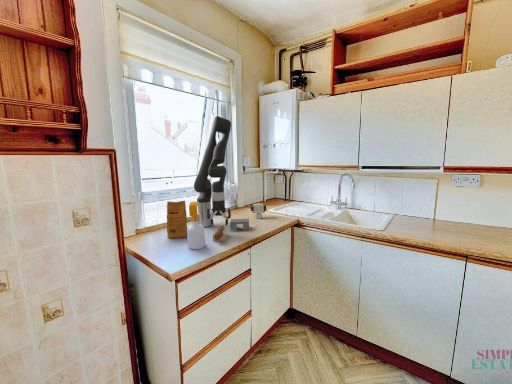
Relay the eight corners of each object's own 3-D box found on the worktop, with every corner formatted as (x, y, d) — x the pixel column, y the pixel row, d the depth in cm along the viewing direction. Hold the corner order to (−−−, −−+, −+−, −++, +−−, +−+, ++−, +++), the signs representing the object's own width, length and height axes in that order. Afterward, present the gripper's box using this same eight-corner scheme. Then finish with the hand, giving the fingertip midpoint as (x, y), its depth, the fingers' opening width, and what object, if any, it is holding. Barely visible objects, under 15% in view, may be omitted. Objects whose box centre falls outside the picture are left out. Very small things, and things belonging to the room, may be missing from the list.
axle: (220, 239, 129) (220, 233, 128) (214, 240, 129) (214, 234, 128) (224, 230, 145) (223, 224, 144) (218, 230, 145) (218, 225, 144)
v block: (225, 240, 134) (224, 233, 133) (212, 240, 134) (212, 234, 133) (226, 236, 141) (226, 230, 140) (214, 236, 141) (214, 230, 140)
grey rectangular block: (249, 230, 151) (248, 221, 150) (230, 230, 151) (230, 222, 150) (249, 227, 158) (248, 218, 157) (231, 227, 158) (231, 219, 157)
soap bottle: (206, 242, 131) (204, 200, 127) (203, 249, 122) (200, 203, 118) (190, 243, 131) (187, 200, 127) (186, 250, 122) (182, 204, 118)
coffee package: (170, 233, 149) (167, 199, 145) (189, 232, 149) (187, 199, 146) (165, 239, 139) (162, 203, 135) (186, 238, 140) (183, 202, 136)
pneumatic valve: (266, 218, 177) (266, 203, 175) (251, 219, 177) (250, 203, 175) (266, 216, 183) (265, 201, 181) (251, 217, 183) (250, 202, 181)
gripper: (231, 197, 143) (231, 223, 146) (208, 198, 144) (209, 223, 146) (229, 200, 136) (230, 226, 138) (205, 200, 136) (206, 227, 139)
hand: (219, 225), depth 142 cm, fingers open, 8 cm apart
